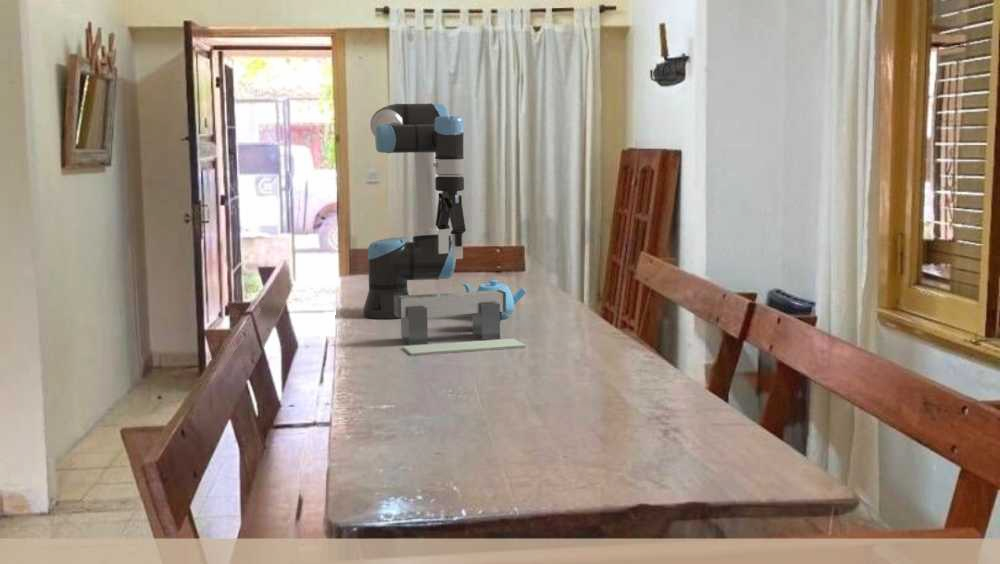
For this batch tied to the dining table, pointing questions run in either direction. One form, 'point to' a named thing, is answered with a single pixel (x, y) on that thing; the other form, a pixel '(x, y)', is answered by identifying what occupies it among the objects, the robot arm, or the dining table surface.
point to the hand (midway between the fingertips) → (450, 256)
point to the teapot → (494, 287)
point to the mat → (463, 347)
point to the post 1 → (415, 326)
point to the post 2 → (487, 322)
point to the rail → (449, 302)
